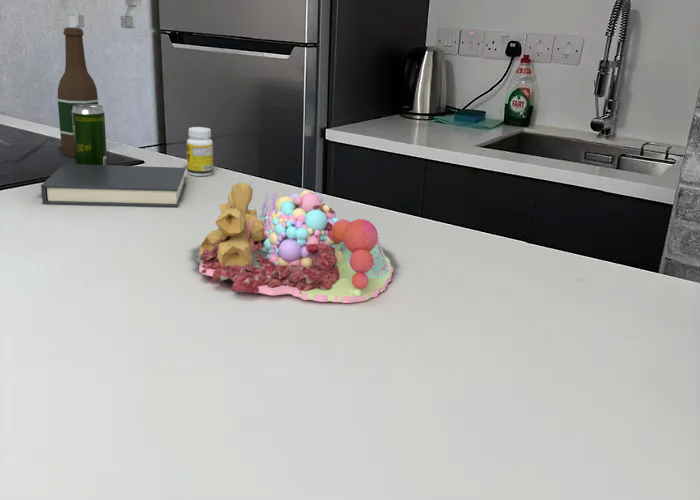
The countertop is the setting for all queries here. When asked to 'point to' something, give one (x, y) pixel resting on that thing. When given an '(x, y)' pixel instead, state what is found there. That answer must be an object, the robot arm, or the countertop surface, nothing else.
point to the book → (114, 186)
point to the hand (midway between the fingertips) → (103, 27)
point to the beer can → (89, 134)
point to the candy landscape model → (294, 250)
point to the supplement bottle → (199, 152)
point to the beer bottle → (73, 87)
